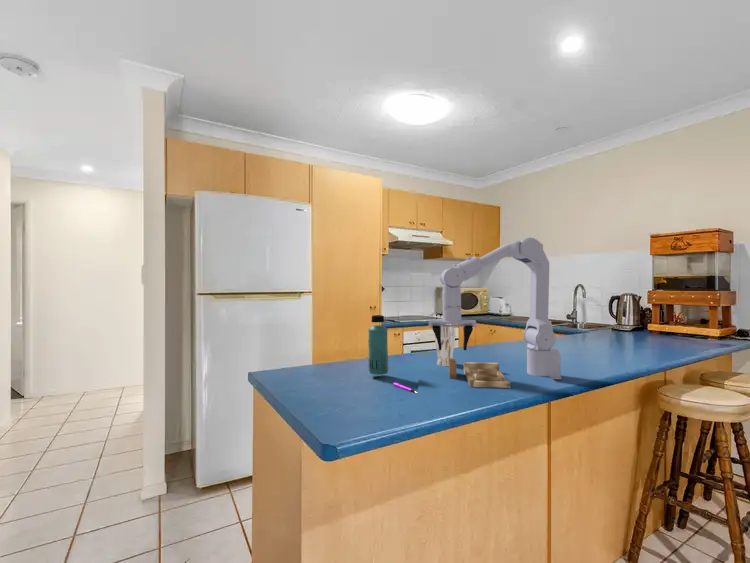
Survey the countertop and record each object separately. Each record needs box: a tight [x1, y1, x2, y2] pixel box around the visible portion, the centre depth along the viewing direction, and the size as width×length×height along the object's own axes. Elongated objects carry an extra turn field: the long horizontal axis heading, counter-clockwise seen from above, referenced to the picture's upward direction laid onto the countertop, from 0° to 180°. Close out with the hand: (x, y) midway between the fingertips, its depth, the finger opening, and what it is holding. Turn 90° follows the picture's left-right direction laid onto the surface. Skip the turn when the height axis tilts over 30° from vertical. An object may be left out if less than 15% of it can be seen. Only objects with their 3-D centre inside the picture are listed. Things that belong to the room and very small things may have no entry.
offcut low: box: [476, 375, 501, 381], centre depth 110 cm, size 6×2×2 cm, turn 82°
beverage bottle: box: [367, 314, 389, 376], centre depth 124 cm, size 6×7×20 cm
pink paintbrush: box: [392, 382, 419, 394], centre depth 108 cm, size 3×1×16 cm
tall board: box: [447, 357, 458, 379], centre depth 121 cm, size 7×2×6 cm, turn 173°
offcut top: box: [477, 369, 497, 377], centre depth 110 cm, size 5×2×2 cm, turn 86°
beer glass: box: [434, 324, 456, 367], centre depth 137 cm, size 7×7×15 cm
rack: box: [463, 361, 512, 389], centre depth 116 cm, size 11×18×4 cm, turn 172°
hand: (452, 349), depth 121 cm, fingers open, 7 cm apart
